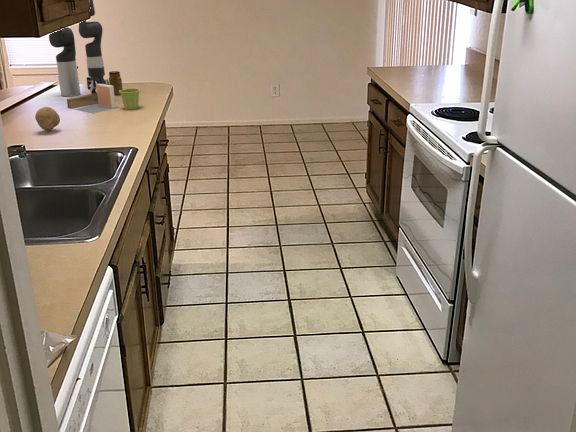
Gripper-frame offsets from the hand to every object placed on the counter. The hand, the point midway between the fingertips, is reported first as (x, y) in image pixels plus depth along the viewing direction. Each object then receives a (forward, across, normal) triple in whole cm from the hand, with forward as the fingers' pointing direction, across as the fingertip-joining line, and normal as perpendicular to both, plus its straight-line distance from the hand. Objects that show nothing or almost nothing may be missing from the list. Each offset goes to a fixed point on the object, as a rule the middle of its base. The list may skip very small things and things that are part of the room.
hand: (100, 99), depth 297 cm
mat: (+1, +11, -10) cm, 15 cm away
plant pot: (+2, +23, 0) cm, 23 cm away
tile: (+1, +12, -5) cm, 13 cm away
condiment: (+2, -6, +15) cm, 16 cm away
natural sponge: (+2, +27, -45) cm, 52 cm away
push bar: (+2, 0, -5) cm, 5 cm away
